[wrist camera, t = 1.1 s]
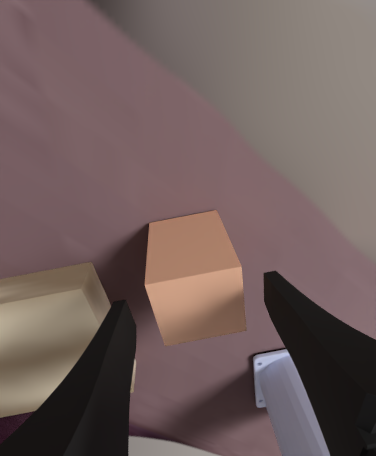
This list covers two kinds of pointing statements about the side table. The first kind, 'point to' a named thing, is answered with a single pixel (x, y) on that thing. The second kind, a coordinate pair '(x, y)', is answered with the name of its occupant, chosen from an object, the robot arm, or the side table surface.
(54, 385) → the birch base
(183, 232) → the terracotta block
